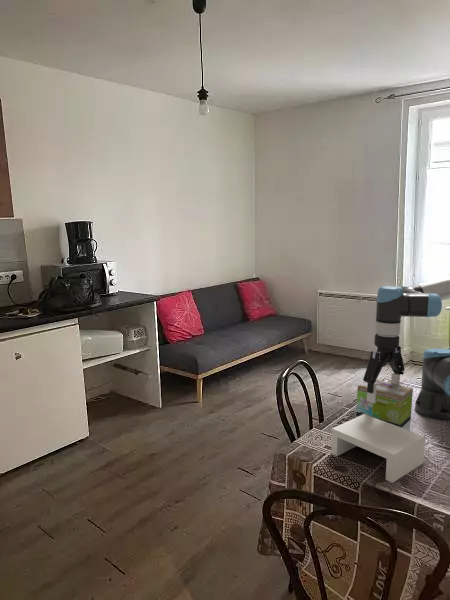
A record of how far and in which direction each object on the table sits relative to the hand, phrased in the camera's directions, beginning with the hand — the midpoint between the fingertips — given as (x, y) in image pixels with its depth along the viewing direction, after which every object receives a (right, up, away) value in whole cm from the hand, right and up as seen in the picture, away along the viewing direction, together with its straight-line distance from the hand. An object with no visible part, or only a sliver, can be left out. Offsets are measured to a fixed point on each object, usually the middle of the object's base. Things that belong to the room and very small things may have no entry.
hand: (383, 397), depth 149 cm
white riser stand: (-8, -14, -18) cm, 24 cm away
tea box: (+1, -11, +2) cm, 11 cm away
